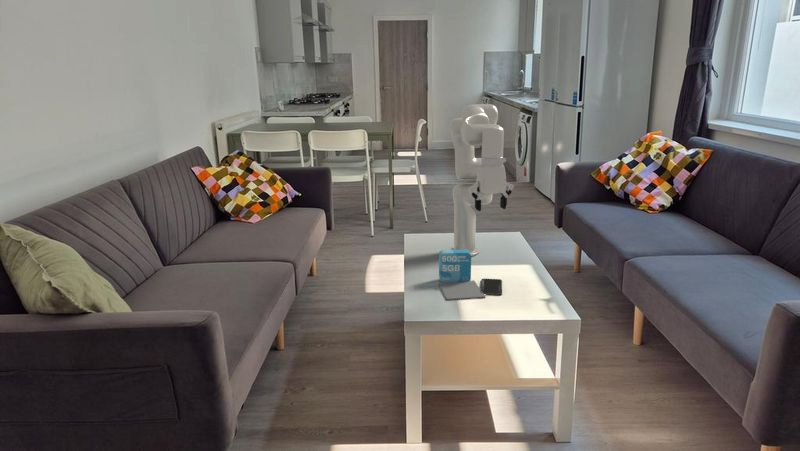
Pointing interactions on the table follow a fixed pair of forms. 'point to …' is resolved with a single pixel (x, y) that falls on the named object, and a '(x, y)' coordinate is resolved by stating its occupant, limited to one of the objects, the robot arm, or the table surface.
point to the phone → (491, 287)
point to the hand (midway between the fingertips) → (490, 209)
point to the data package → (454, 265)
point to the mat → (461, 290)
